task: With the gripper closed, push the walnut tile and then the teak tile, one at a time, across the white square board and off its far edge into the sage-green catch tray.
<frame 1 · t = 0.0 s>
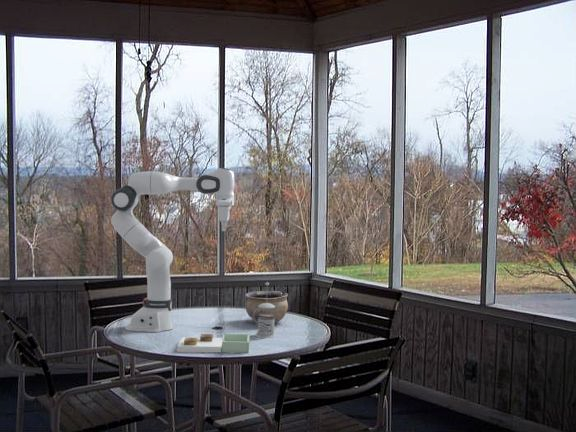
hand: (224, 230, 310), 48 cm above the table, fingers open, 8 cm apart
walnut tile: (206, 340, 280), point 2 cm above the table, touching white square board
teak tile: (190, 343, 272), point 2 cm above the table, touching white square board
ceramic bowl: (266, 323, 330), on the table
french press: (264, 335, 302), on the table
catch tray: (236, 348, 277), on the table
white square board: (201, 347, 276), on the table
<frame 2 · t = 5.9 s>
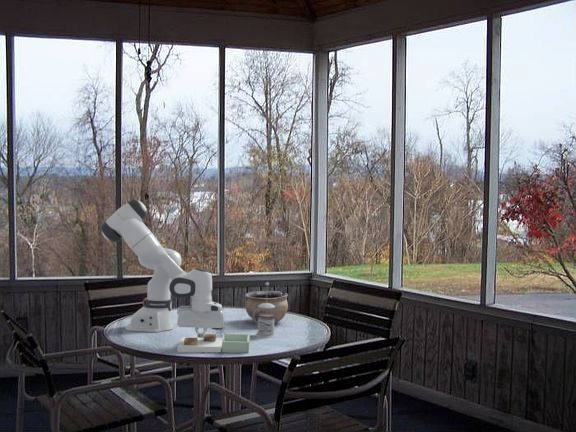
hand: (200, 337, 279), 4 cm above the table, fingers closed
walnut tile: (210, 340, 280), point 2 cm above the table, touching white square board, gripper
everything else where it was.
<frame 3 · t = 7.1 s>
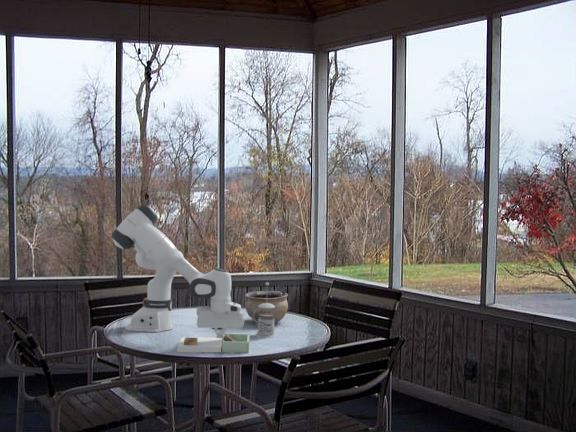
hand: (220, 337, 279), 4 cm above the table, fingers closed
walnut tile: (227, 341, 280), point 2 cm above the table, tilted 37°, touching catch tray
everything else where it was.
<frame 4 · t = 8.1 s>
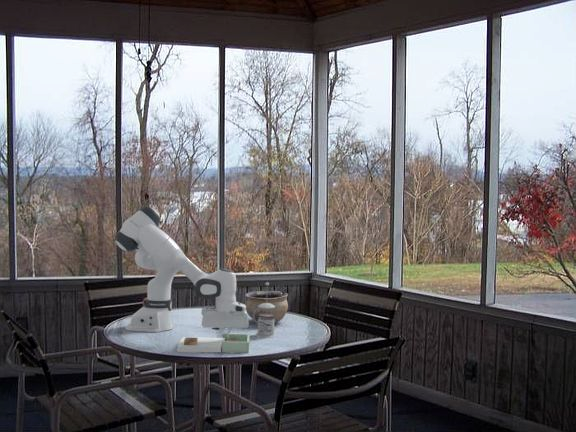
hand: (225, 337, 280), 4 cm above the table, fingers closed
walnut tile: (232, 344, 280), resting on catch tray
everything else where it was.
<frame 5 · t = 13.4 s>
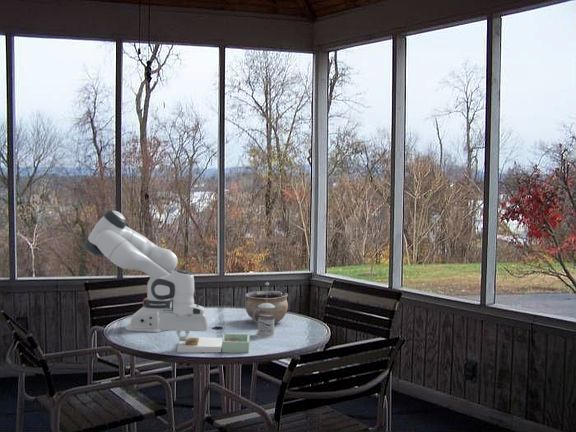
hand: (182, 341, 272), 4 cm above the table, fingers closed
teak tile: (192, 343, 272), point 3 cm above the table, touching gripper
everything else where it was.
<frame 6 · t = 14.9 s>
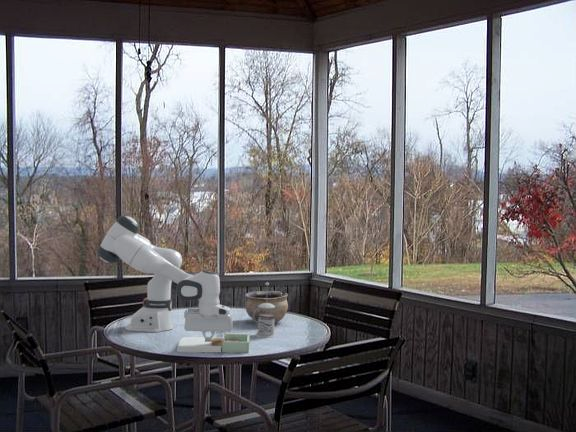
hand: (208, 341, 272), 4 cm above the table, fingers closed
teak tile: (217, 344, 273), point 2 cm above the table, touching white square board, gripper
everything else where it was.
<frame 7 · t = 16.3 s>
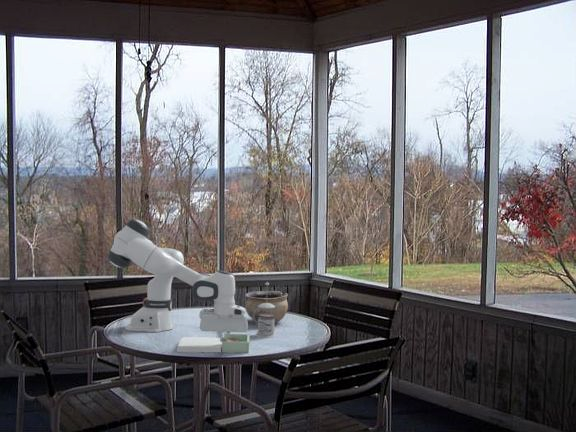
hand: (223, 341, 273), 4 cm above the table, fingers closed
teak tile: (231, 347, 273), point 1 cm above the table, tilted 19°, touching gripper
everything else where it was.
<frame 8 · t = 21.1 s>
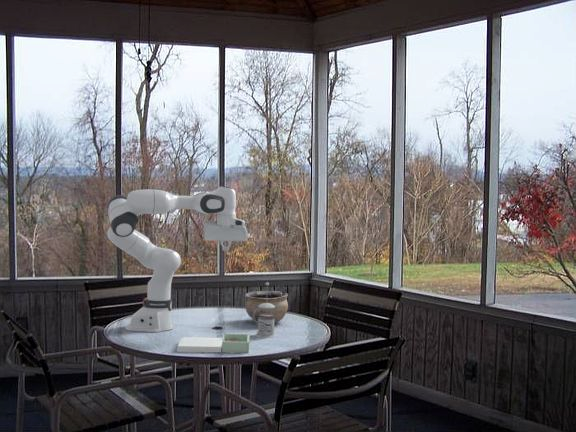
hand: (225, 250, 303), 39 cm above the table, fingers closed
teak tile: (231, 349, 273), resting on catch tray
everything else where it was.
at the end: walnut tile inside the target area on the catch tray (4.0 cm from its centre), point 0.5 cm above the catch tray's base; teak tile inside the target area on the catch tray (4.0 cm from its centre), point 0.5 cm above the catch tray's base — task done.
